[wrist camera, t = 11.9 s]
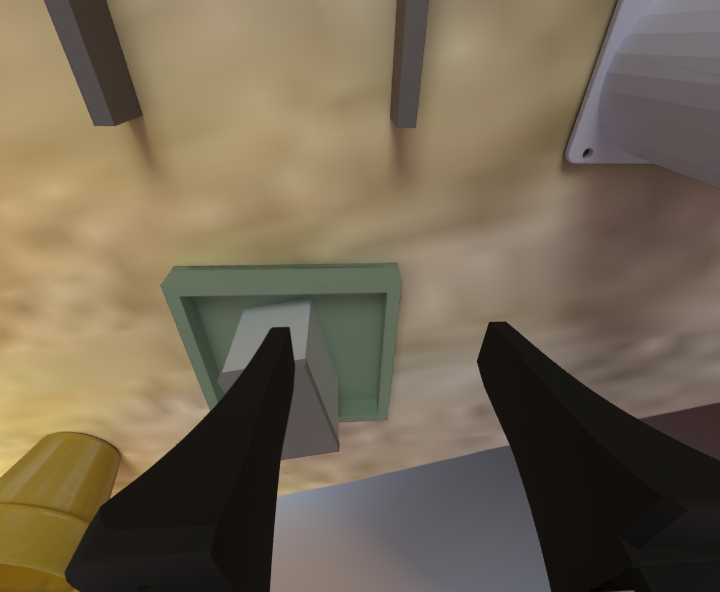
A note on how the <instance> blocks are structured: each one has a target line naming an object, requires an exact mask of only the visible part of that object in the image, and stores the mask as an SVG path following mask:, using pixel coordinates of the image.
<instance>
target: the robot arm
mask: <svg viewBox="0 0 720 592" xmlns="http://www.w3.org/2000/svg"><path fill="white" fill-rule="evenodd" d="M586 149H589V151H588V153H587V155H585V156H584V157H582V156H583V153H584V151H585V150H586ZM565 159H566V160H567V161H568V162H570V163H574V164H656V165H659V166H662V167H664V168H667V169H669V170H672V171H675V172H677V173H680V174H682V175H685V176H688V177H690V178H693V179H696V180H698V181H701V182H703V183H706V184H709V185H711V186H714V187H716V188H719V189H720V0H618V2H617V5H616V8H615V11H614V14H613V17H612V20H611V22H610V25H609V28H608V31H607V34H606V37H605V40H604V42H603V45H602V48H601V51H600V54H599V57H598V60H597V62H596V65H595V68H594V71H593V74H592V77H591V80H590V83H589V85H588V88H587V91H586V94H585V97H584V100H583V103H582V105H581V108H580V111H579V114H578V117H577V120H576V123H575V125H574V128H573V131H572V134H571V137H570V140H569V143H568V146H567V148H566V151H565ZM477 363H478V367H479V371H480V374H481V378H482V381H483V384H484V387H485V390H486V392H487V394H488V397H489V399H490V401H491V403H492V406H493V408H494V410H495V413H496V415H497V417H498V419H499V422H500V424H501V426H502V428H503V431H504V433H505V435H506V437H507V440H508V442H509V444H510V446H511V449H512V452H513V454H514V457H515V460H516V463H517V466H518V470H519V472H520V476H521V478H522V482H523V485H524V488H525V492H526V495H527V498H528V501H529V505H530V508H531V511H532V515H533V519H534V523H535V527H536V530H537V534H538V538H539V541H540V545H541V549H542V554H543V558H544V562H545V566H546V570H547V574H548V579H549V583H550V588H551V592H720V460H717V459H715V458H713V457H711V456H708V455H706V454H704V453H702V452H699V451H698V450H695V449H693V448H691V447H689V446H687V445H685V444H683V443H681V442H679V441H677V440H675V439H673V438H671V437H669V436H668V435H666V434H664V433H662V432H660V431H658V430H656V429H654V428H652V427H651V426H649V425H647V424H645V423H644V422H642V421H640V420H639V419H637V418H635V417H633V416H632V415H630V414H628V413H626V412H625V411H623V410H621V409H620V408H618V407H617V406H615V405H613V404H612V403H610V402H609V401H607V400H606V399H604V398H603V397H601V396H600V395H598V394H597V393H595V392H594V391H592V390H591V389H589V388H588V387H586V386H585V385H584V384H582V383H581V382H579V381H578V380H577V379H575V378H574V377H573V376H571V375H570V374H569V373H567V372H566V371H565V370H563V369H562V368H561V367H560V366H558V365H557V364H556V363H555V362H553V361H552V360H551V359H550V358H548V357H547V356H546V355H545V354H544V353H542V352H541V351H540V350H539V349H538V348H536V347H535V346H534V345H533V344H532V343H531V342H529V341H528V340H527V339H526V338H525V337H524V336H522V335H521V334H520V333H519V332H518V331H516V330H515V329H514V328H513V327H512V326H510V325H509V324H508V323H507V322H489V324H488V327H487V330H486V334H485V337H484V340H483V343H482V347H481V350H480V353H479V356H478V359H477ZM294 377H295V361H294V354H293V347H292V340H291V333H290V327H272V328H271V329H270V330H269V332H268V333H267V335H266V337H265V338H264V340H263V342H262V343H261V345H260V347H259V348H258V350H257V351H256V353H255V354H254V356H253V357H252V359H251V360H250V362H249V363H248V365H247V366H246V368H245V369H244V370H243V372H242V373H241V375H240V376H239V377H238V378H237V380H236V381H235V382H234V384H233V385H232V386H231V387H230V389H229V390H228V391H227V393H226V394H225V395H224V396H223V397H222V399H221V400H220V401H219V402H218V403H217V404H216V405H215V407H214V408H213V409H212V410H211V411H210V412H209V413H208V414H207V415H206V416H205V417H204V419H203V420H202V421H201V422H200V423H199V424H198V425H197V426H196V427H195V428H194V429H193V430H192V431H191V432H190V433H189V434H188V435H187V436H186V437H184V438H183V439H182V440H181V441H180V442H179V443H178V444H177V445H176V446H175V447H174V448H173V449H171V450H170V451H169V452H168V453H167V454H166V455H164V456H163V457H162V458H161V459H160V460H159V461H158V462H156V463H155V464H154V465H153V466H152V467H151V468H149V469H148V470H147V471H146V472H145V473H143V474H142V475H141V476H140V477H138V478H137V479H136V480H134V481H133V482H132V483H130V484H129V485H128V486H127V487H125V488H124V489H123V490H121V491H120V492H119V493H117V494H116V495H115V496H113V497H112V498H111V499H110V500H108V501H107V502H105V503H104V504H103V505H101V506H100V508H99V509H98V511H97V513H96V514H95V516H94V518H93V519H92V521H91V522H90V524H89V526H88V527H87V529H86V531H85V533H84V535H83V537H82V539H81V541H80V543H79V545H78V546H77V548H76V550H75V552H74V554H73V556H72V558H71V560H70V562H69V564H68V566H67V568H66V570H65V572H64V573H65V579H66V581H67V582H68V583H69V584H70V585H71V586H72V587H73V588H75V589H76V590H78V591H79V592H270V579H271V564H272V550H273V537H274V524H275V512H276V501H277V490H278V480H279V470H280V461H281V455H282V449H283V444H284V439H285V434H286V428H287V423H288V418H289V413H290V408H291V402H292V397H293V390H294Z"/></svg>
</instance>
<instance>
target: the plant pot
mask: <svg viewBox="0 0 720 592" xmlns="http://www.w3.org/2000/svg"><path fill="white" fill-rule="evenodd" d="M119 465H120V454H119V453H118V451H117V450H116V449H115V448H114V447H113V446H111V445H110V444H108V443H107V442H105V441H103V440H101V439H98V438H96V437H93V436H89V435H85V434H79V433H70V432H63V433H55V434H51V435H48V436H46V437H44V438H43V439H42V440H40V441H39V442H38V443H37V444H36V445H35V446H34V447H33V448H32V449H31V450H30V451H29V452H28V453H27V454H26V455H24V456H23V457H22V458H21V459H20V460H19V461H18V462H17V463H16V464H15V465H14V466H12V467H11V468H10V469H9V470H8V471H7V472H6V473H5V474H4V475H3V476H2V477H1V478H0V592H79V591H78V590H76V589H75V588H73V587H72V586H71V585H70V584H69V583H68V582H67V581H66V579H65V573H64V572H65V570H66V568H67V566H68V564H69V562H70V560H71V558H72V556H73V554H74V552H75V550H76V548H77V546H78V545H79V543H80V541H81V539H82V537H83V535H84V533H85V531H86V529H87V527H88V526H89V524H90V522H91V521H92V519H93V518H94V516H95V514H96V513H97V511H98V509H99V508H100V506H101V505H103V504H104V503H105V502H107V501H108V500H110V497H111V493H112V490H113V486H114V483H115V479H116V476H117V472H118V469H119Z"/></svg>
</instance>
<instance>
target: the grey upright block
mask: <svg viewBox="0 0 720 592" xmlns="http://www.w3.org/2000/svg"><path fill="white" fill-rule="evenodd" d="M272 327H290V333H291V340H292V347H293V354H294V361H295V377H294V390H293V397H292V402H291V408H290V413H289V418H288V423H287V428H286V434H285V439H284V444H283V449H282V455H281V460H285V459H292V458H299V457H305V456H312V455H318V454H325V453H332V452H338V451H339V440H338V376H337V373H336V370H335V367H334V364H333V361H332V358H331V355H330V352H329V349H328V346H327V343H326V340H325V337H324V334H323V331H322V328H321V325H320V322H319V319H318V316H317V313H316V310H315V307H314V304H313V301H312V298H311V297H309V298H304V299H298V300H293V301H287V302H282V303H276V304H271V305H265V306H260V307H254V308H248V309H244V311H243V313H242V316H241V319H240V322H239V325H238V328H237V331H236V334H235V336H234V339H233V342H232V345H231V348H230V351H229V354H228V357H227V359H226V362H225V365H224V368H223V371H222V373H220V375H219V378H218V381H217V383H218V384H219V386H220V387H221V389H222V390H223V392H224V393H225V394H226V393H227V391H228V390H229V389H230V387H231V386H232V385H233V384H234V382H235V381H236V380H237V378H238V377H239V376H240V375H241V373H242V372H243V370H244V369H245V368H246V366H247V365H248V363H249V362H250V360H251V359H252V357H253V356H254V354H255V353H256V351H257V350H258V348H259V347H260V345H261V343H262V342H263V340H264V338H265V337H266V335H267V333H268V332H269V330H270V329H271V328H272Z"/></svg>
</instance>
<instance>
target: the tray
mask: <svg viewBox="0 0 720 592" xmlns="http://www.w3.org/2000/svg"><path fill="white" fill-rule="evenodd" d="M401 285H402V280H401V276H400V272H399V269H398V265H397V263H382V264H313V265H244V266H175V267H173V268H172V270H171V271H170V273H169V274H168V275H167V277H166V278H165V280H164V281H163V282H162V284H161V285H160V286H161V288H162V291H163V293H164V296H165V298H166V301H167V303H168V306H169V308H170V311H171V313H172V316H173V318H174V321H175V323H176V326H177V329H178V331H179V334H180V336H181V339H182V341H183V344H184V346H185V349H186V351H187V354H188V356H189V359H190V361H191V364H192V366H193V369H194V371H195V374H196V376H197V379H198V381H199V384H200V386H201V389H202V392H203V394H204V397H205V399H206V402H207V404H208V407H209V409H210V411H211V410H212V409H213V408H214V407H215V405H216V404H217V403H218V402H219V401H220V400H221V399H222V397H223V396H224V395H225V393H224V392H223V390H222V389H221V387H220V386H219V384H218V383H217V381H218V378H219V375H220V373H222V371H223V368H224V365H225V362H226V359H227V357H228V354H229V351H230V348H231V345H232V342H233V339H234V336H235V334H236V331H237V328H238V325H239V322H240V319H241V316H242V313H243V311H244V309H248V308H254V307H260V306H265V305H271V304H276V303H282V302H287V301H293V300H298V299H304V298H309V297H311V298H312V301H313V304H314V307H315V310H316V313H317V316H318V319H319V322H320V325H321V328H322V331H323V334H324V337H325V340H326V343H327V346H328V349H329V352H330V355H331V358H332V361H333V364H334V367H335V370H336V373H337V376H338V422H355V421H380V420H387V418H388V409H389V399H390V390H391V380H392V371H393V361H394V352H395V342H396V333H397V323H398V313H399V304H400V294H401Z"/></svg>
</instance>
